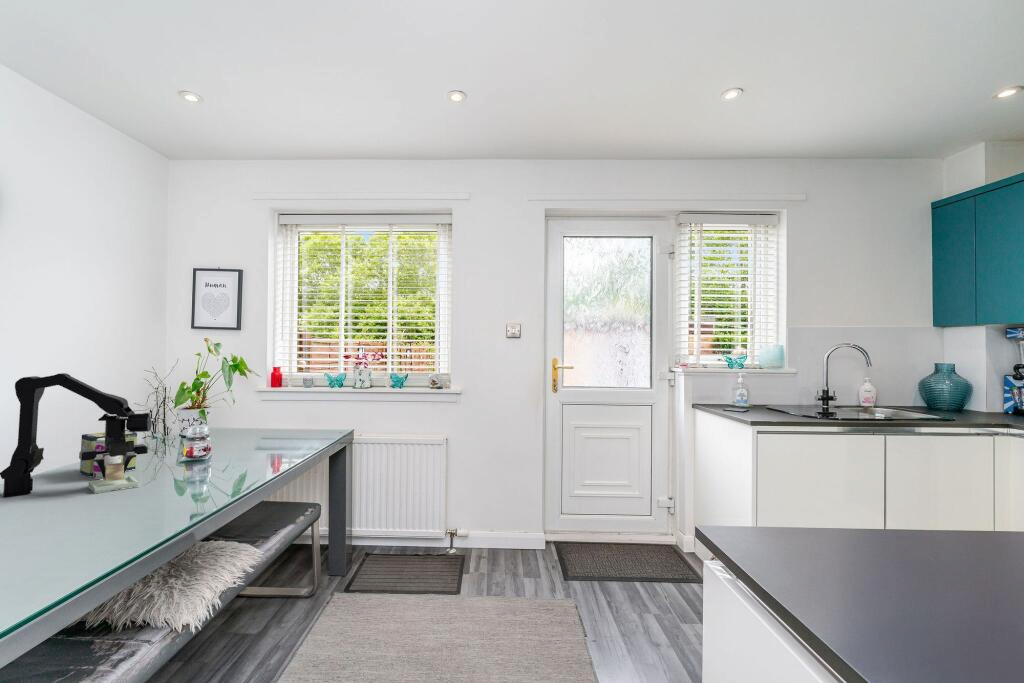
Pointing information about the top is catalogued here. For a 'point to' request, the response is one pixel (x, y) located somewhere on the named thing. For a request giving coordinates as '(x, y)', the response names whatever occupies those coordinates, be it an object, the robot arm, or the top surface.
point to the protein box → (89, 443)
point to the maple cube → (114, 472)
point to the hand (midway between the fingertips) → (113, 476)
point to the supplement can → (107, 459)
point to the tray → (112, 484)
